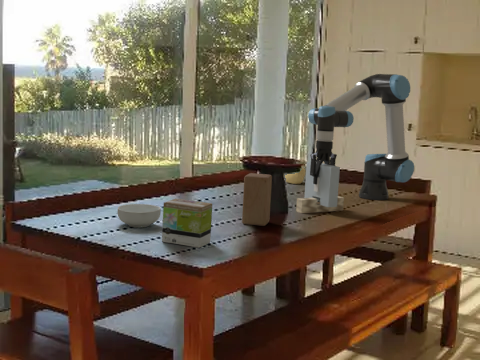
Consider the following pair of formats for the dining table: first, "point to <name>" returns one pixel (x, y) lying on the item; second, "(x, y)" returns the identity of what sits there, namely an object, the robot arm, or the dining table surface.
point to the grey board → (323, 185)
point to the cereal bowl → (139, 214)
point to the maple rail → (316, 205)
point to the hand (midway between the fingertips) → (321, 191)
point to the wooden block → (256, 199)
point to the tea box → (187, 222)
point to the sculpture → (296, 177)
